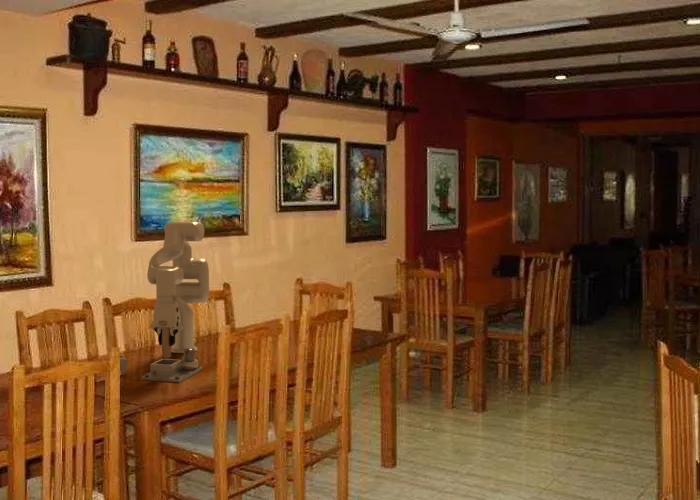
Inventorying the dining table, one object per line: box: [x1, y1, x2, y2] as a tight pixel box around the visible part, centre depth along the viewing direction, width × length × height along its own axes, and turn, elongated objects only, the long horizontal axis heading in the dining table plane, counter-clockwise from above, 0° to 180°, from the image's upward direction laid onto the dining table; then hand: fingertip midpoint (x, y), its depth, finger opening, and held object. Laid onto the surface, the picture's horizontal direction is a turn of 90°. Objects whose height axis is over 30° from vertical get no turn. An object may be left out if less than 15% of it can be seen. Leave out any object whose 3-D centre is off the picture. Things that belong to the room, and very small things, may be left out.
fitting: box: [141, 348, 203, 383], centre depth 317 cm, size 22×16×9 cm
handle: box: [159, 321, 173, 359], centre depth 316 cm, size 5×6×15 cm
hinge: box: [96, 355, 129, 380], centre depth 311 cm, size 17×5×10 cm, turn 156°
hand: (166, 344), depth 316 cm, fingers closed on handle, 3 cm apart
